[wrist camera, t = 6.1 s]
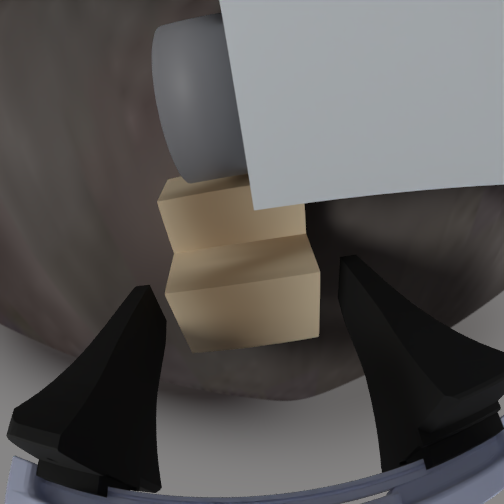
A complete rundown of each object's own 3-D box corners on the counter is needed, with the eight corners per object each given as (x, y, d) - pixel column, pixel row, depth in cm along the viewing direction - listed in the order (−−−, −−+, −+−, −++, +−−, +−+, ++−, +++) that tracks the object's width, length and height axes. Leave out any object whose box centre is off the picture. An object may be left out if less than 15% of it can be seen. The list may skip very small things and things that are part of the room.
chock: (291, 157, 10) (319, 209, 7) (299, 266, 13) (318, 336, 10) (168, 177, 11) (141, 236, 7) (199, 280, 14) (192, 353, 10)
